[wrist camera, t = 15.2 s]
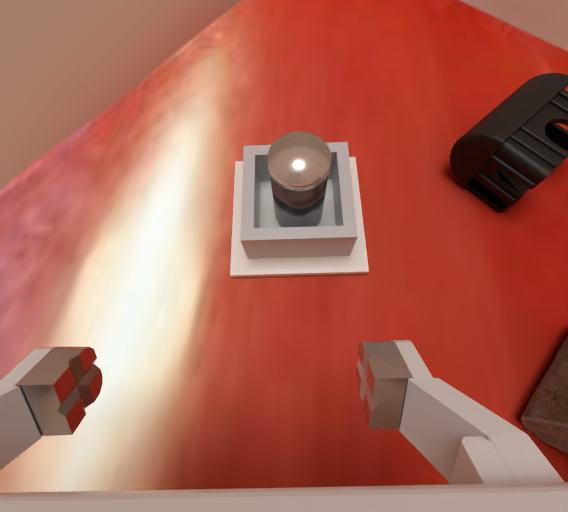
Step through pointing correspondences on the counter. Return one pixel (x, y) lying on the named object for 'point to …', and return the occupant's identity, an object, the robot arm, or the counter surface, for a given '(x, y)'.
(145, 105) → the counter surface
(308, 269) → the open square tray
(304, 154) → the brown cylinder
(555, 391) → the vintage camera
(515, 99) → the end cap
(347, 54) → the counter surface
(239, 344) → the counter surface
